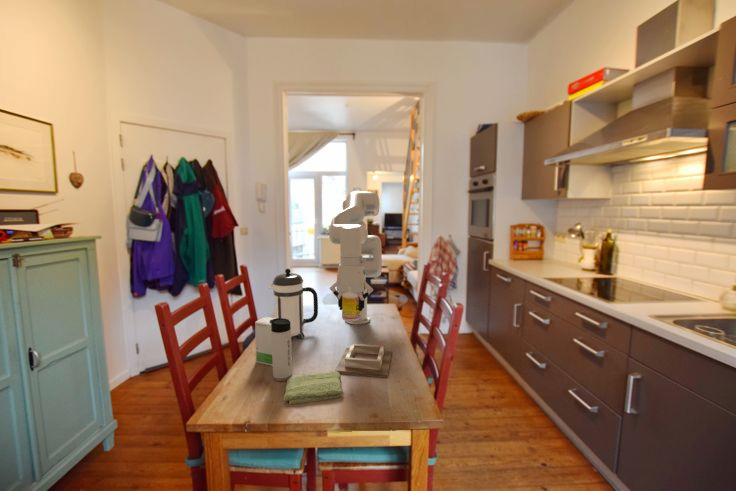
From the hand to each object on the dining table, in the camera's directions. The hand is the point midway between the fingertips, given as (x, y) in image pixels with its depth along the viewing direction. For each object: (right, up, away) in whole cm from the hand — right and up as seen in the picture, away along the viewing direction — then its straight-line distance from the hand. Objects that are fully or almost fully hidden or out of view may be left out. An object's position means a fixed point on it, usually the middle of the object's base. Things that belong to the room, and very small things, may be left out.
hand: (351, 309), depth 118 cm
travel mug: (-23, -21, -9) cm, 32 cm away
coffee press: (-27, -17, +26) cm, 41 cm away
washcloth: (-11, -23, -16) cm, 30 cm away
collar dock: (+5, -20, +1) cm, 20 cm away
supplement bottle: (0, -4, 0) cm, 4 cm away
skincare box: (-30, -20, +2) cm, 36 cm away
